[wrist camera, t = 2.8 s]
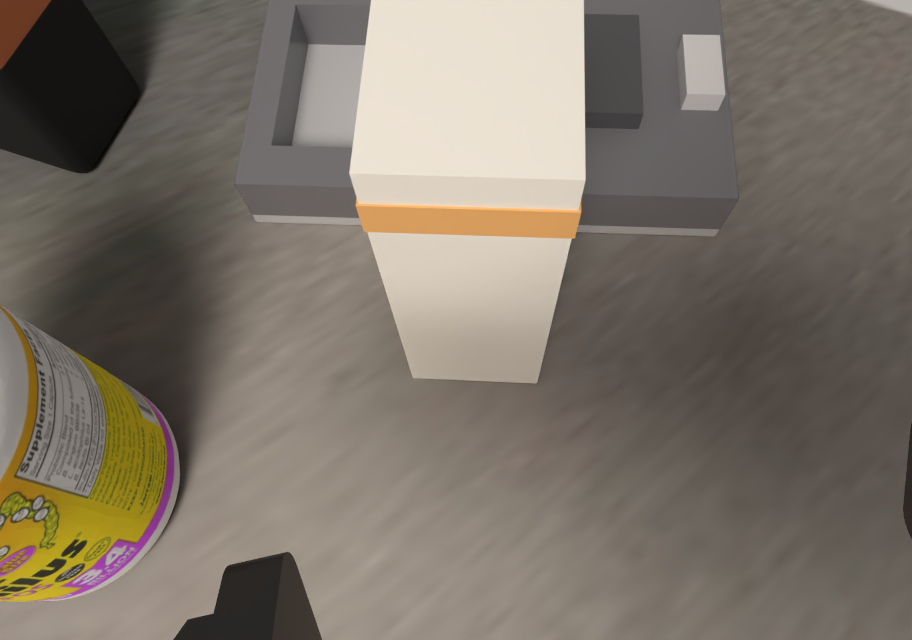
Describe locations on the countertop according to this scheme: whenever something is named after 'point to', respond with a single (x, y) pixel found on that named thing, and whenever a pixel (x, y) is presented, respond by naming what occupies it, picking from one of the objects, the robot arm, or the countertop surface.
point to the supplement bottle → (75, 469)
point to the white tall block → (472, 175)
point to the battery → (59, 83)
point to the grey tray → (606, 116)
